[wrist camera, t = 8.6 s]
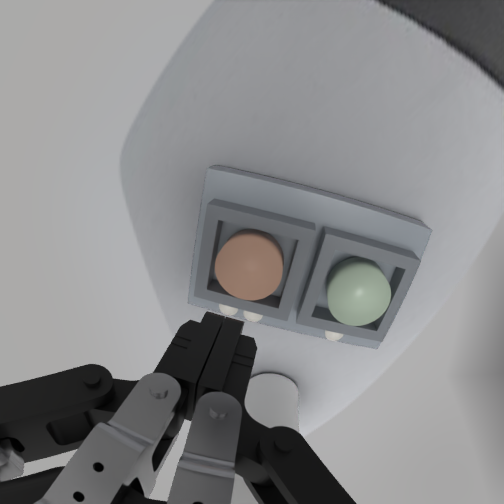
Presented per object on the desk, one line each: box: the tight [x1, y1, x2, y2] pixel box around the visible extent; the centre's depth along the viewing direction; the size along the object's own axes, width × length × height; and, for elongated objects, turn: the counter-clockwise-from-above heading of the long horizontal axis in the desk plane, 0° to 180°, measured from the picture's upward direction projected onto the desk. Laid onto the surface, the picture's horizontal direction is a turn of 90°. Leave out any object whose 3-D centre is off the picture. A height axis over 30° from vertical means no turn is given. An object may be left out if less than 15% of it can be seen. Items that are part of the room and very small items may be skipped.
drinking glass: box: [231, 373, 299, 504], centre depth 20 cm, size 7×7×15 cm
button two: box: [215, 229, 284, 300], centre depth 18 cm, size 4×4×2 cm
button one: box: [326, 257, 391, 326], centre depth 18 cm, size 4×4×2 cm
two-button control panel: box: [188, 165, 432, 349], centre depth 19 cm, size 10×15×4 cm, turn 78°
